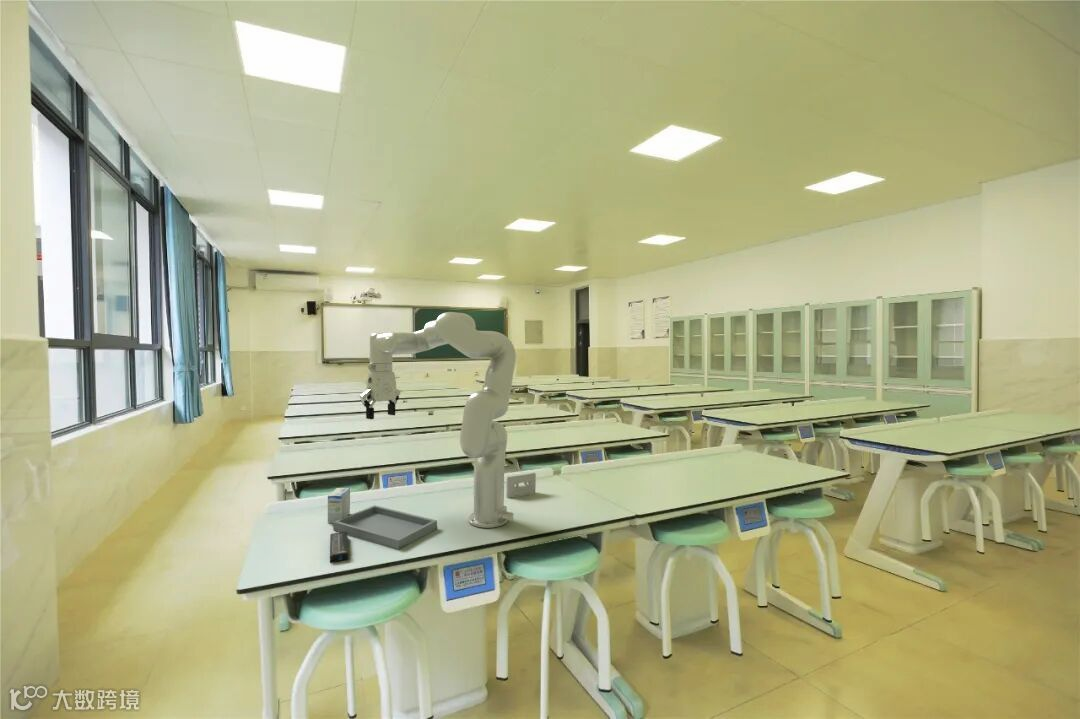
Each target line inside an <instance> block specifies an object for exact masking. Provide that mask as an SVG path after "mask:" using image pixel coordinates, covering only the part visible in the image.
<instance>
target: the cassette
mask: <svg viewBox="0 0 1080 719" xmlns="http://www.w3.org/2000/svg"><path fill="white" fill-rule="evenodd" d="M536 476H537V474H536V472H528V473H523V474H514V475H509V476H508V475H507V476H506V478H505V480H506V483H505V485H506V486H505V497H506V498H507V499H509V498H518V497H521V496H522V497H523V496H527V495H532V494H536V483H537V482H536V481H537V479H536V478H537V477H536ZM521 483H523V484H521ZM520 484H521V485H520Z"/></svg>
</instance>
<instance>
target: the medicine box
mask: <svg viewBox="0 0 1080 719" xmlns="http://www.w3.org/2000/svg"><path fill="white" fill-rule="evenodd" d="M349 514H350V515H351V488H349V487H336V488H335V489H334V490H332V492H330V494H329V495H328V496H327V523H328V524H333V522H334V521H337V520H339V519H342V518H344V517H347V516H349Z"/></svg>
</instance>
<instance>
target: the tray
mask: <svg viewBox="0 0 1080 719" xmlns="http://www.w3.org/2000/svg"><path fill="white" fill-rule="evenodd" d="M332 525H333V527H332V530H333V531H334V532H335V531H336V532H337V533H340V532H347V536H352V537H355V538H358V539H362V540H365V541H369V542H371V543H376V544H379V545H382V546H385V547H388V548H392V549H395V550H398V551H399V550H401V549H402V548H404V547H407V546H408V545H410V544H411V543H412V544H413V543H414V542H415V541H417V540H419V539H420V538H421V539H422V537H424V536H426V535H428V534H430V533H432V532H433V531H435V530H437V529H438V520H437V519H433V518H428V517H424V516H420V515H416V514H413V513H412V514H411V513H407V512H404V511H400V510H396V509H392V508H388V507H384V506H379V505H376V504H374V505H372V506H369V507H367V508H365V509H362V510H359V511H356V512H354V513H352V514H350V515H348V516H347V517H344V518H342V519H339V520H337V521H334V522H333V523H332Z"/></svg>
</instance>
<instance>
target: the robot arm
mask: <svg viewBox="0 0 1080 719" xmlns="http://www.w3.org/2000/svg"><path fill="white" fill-rule="evenodd" d="M445 345H450V346H451V347H453V348H454V349H455V350H457V351H458V352H460V353H462V354H463V355H464V356H466V357H468V358H471V359H473V360H474V359H475V360H482V359H483V360H484V359H489V360H490V361H489V365H488V366H487V369H486V371H485V376H484V384H483V388H482V389H481V390H477V391H475V392H473V393H472V394H470V396H469V397H468V398H467V400H466V401H465V405H464V409H463V410H464V411H463V415H462V422H461V428H460V434H459V437H460V438H459V445H460V449H461V451H462V453H463V454H464V455H465V456H466V457H467V458H470V459H474V466H473V512H472V513H470V515H469V516H468V523H469V525H471V526H473V527H478V528H483V529H485V528H487V529H489V528H497V527H501V526H504V525H505V524H507V523H508V522H511V523H512V522H513V521H514V512H512V511H508V506H506V505H504V504H505V503H504V502H505V463H506V462H505V461H506V460H505V459H506V458H505V457H506V451H507V445H508V431H507V429H506V428H505V426H504V425H503V424H502V423H501V422H499V421H496V419H499V418H501V417H503V416H504V415H506V414H507V412H508V410H509V405H510V397H511V392H512V385H513V379H514V373H515V367H516V361H517V354H516V348H515V345H514V344H513V342H512V341H511V340H510V338H509V337H508V336H506V335H505V334H503V333H501V332H498V331H495V330H494V331H493V330H478V329H477V327H476V321H475V320H474V318H473V316H471V315H469V314H467V313H464V312H456V311H454V312H453V311H448V312H443V313H441V314H440V315H438V317H437V318H436V319H434V320H431V321H430V320H429V321H428V322H426V323H425V325H424V327H423V329H421V330H417V331H413V332H401V331H399V332H394V331H392V332H373V333H371V334H370V336H369V365H368V366H367V369H368V370H369V372H368V374H367V379H366V390H365V391H364V392H362V393H361V394H360V395H359V398H360V401H361V403H362V405H363V407H364V408H365V419H368V420H374V419H375V407H373V406H375V403H376V402H377V403H379V402H388V403H387V415H389V416H396V404H397V403H398V400H399V399H400V395H401V390H399V389H397V381H396V380H397V379H396V374H395V371H393V356H394V355H413V354H418V353H421V352H427V351H431V349H434V348H437V347H440V346H445Z"/></svg>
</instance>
